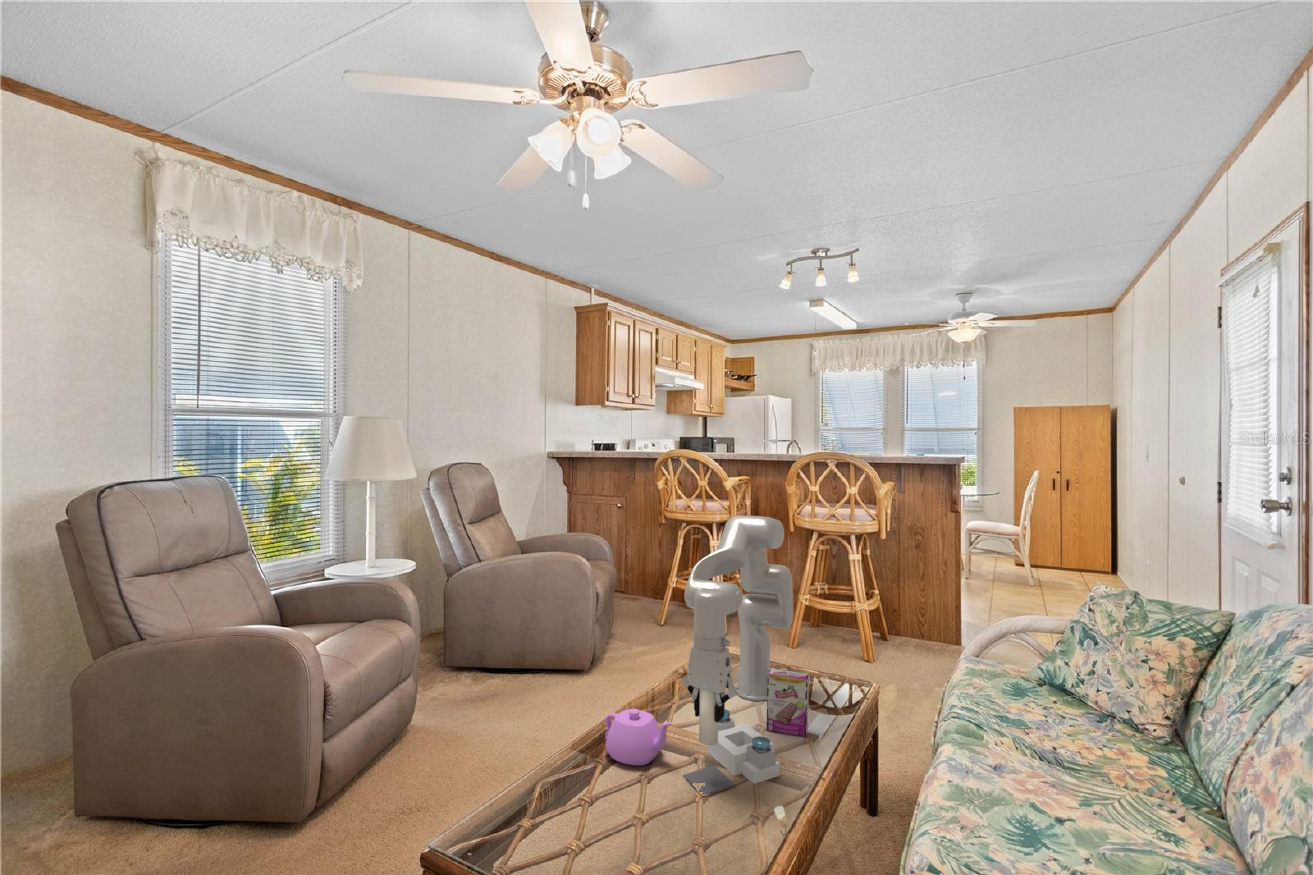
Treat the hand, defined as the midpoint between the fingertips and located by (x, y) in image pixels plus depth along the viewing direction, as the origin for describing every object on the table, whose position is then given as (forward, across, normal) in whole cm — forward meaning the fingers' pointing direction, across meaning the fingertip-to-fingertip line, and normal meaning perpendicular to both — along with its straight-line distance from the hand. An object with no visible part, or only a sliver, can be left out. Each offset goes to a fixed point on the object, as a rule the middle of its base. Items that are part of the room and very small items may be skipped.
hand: (708, 716), depth 146 cm
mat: (+16, 0, 0) cm, 16 cm away
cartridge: (+6, 0, 0) cm, 6 cm away
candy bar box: (+16, -8, -34) cm, 38 cm away
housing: (+16, -2, -14) cm, 21 cm away
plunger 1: (+13, +5, -18) cm, 23 cm away
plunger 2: (+13, -10, -10) cm, 18 cm away
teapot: (+16, +21, -1) cm, 26 cm away
